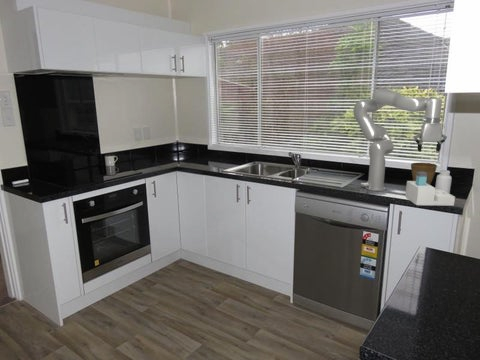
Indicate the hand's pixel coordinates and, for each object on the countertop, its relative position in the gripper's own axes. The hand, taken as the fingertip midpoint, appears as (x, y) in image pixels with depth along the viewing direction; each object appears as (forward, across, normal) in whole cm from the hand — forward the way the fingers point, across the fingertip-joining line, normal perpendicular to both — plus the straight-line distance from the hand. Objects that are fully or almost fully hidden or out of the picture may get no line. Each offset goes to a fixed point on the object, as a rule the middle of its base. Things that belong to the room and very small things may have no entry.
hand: (428, 151), depth 197 cm
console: (+29, +2, -3) cm, 29 cm away
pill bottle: (+29, +15, +12) cm, 34 cm away
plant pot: (+29, +8, +26) cm, 40 cm away
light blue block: (+23, -4, -4) cm, 23 cm away
